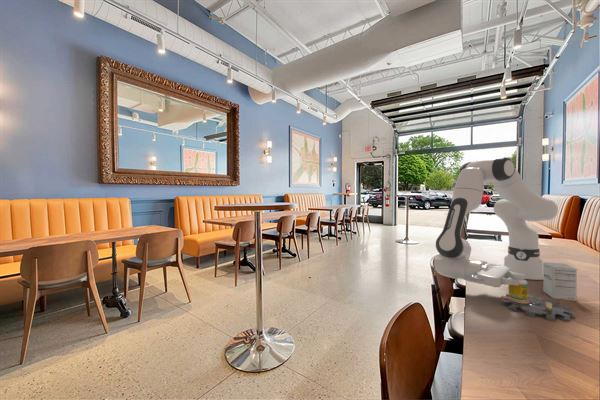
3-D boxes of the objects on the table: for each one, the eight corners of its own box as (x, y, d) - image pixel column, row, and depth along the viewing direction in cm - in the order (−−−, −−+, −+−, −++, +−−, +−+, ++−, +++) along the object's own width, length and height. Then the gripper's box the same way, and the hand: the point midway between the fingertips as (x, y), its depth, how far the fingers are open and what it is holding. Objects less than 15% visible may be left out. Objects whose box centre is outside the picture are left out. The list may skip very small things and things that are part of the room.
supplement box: (542, 291, 106) (542, 261, 106) (566, 294, 103) (566, 263, 103) (552, 298, 99) (552, 266, 99) (577, 301, 96) (577, 268, 96)
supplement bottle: (511, 295, 98) (511, 270, 98) (529, 299, 94) (529, 274, 94) (506, 298, 95) (506, 273, 95) (524, 303, 91) (524, 276, 91)
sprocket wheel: (506, 293, 105) (506, 282, 104) (574, 308, 90) (574, 295, 90) (495, 307, 92) (495, 294, 92) (572, 326, 78) (572, 312, 78)
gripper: (469, 269, 97) (515, 277, 87) (483, 260, 111) (525, 266, 100) (469, 285, 97) (515, 296, 87) (483, 274, 111) (525, 282, 100)
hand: (521, 280), depth 94 cm, fingers open, 8 cm apart
